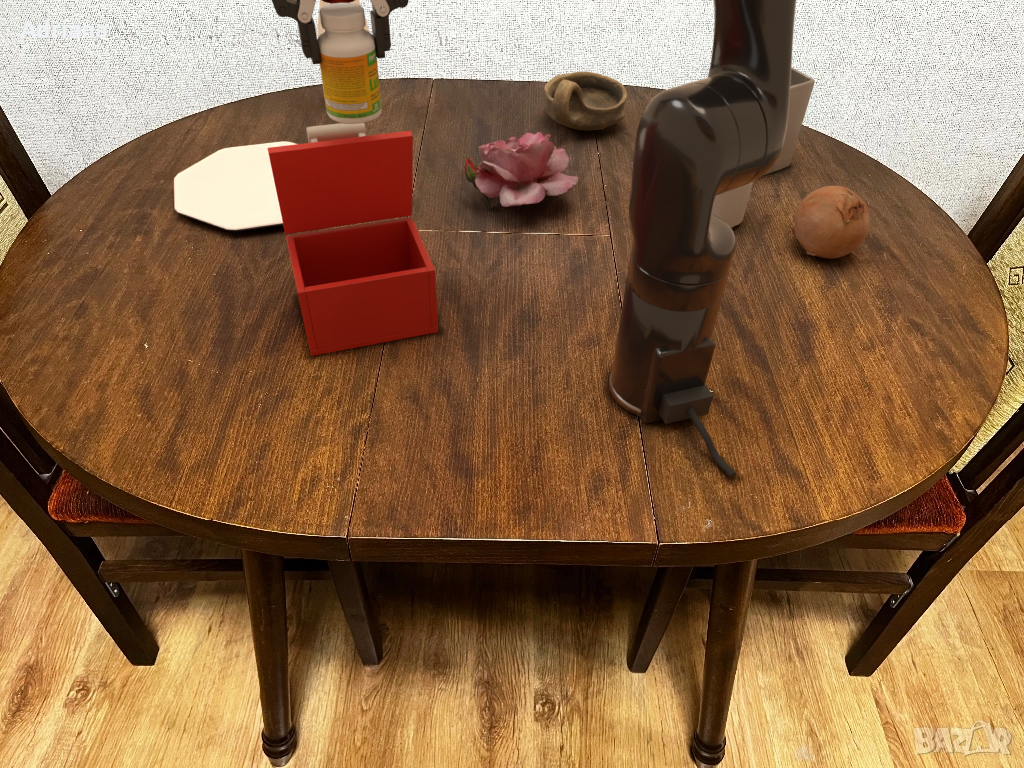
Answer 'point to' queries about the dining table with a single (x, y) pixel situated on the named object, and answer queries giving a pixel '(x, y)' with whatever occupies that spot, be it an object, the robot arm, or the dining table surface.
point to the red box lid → (343, 177)
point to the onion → (831, 222)
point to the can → (732, 204)
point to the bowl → (585, 100)
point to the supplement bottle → (348, 65)
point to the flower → (520, 170)
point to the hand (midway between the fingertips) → (348, 57)
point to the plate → (231, 189)
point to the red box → (363, 284)
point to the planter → (794, 116)
